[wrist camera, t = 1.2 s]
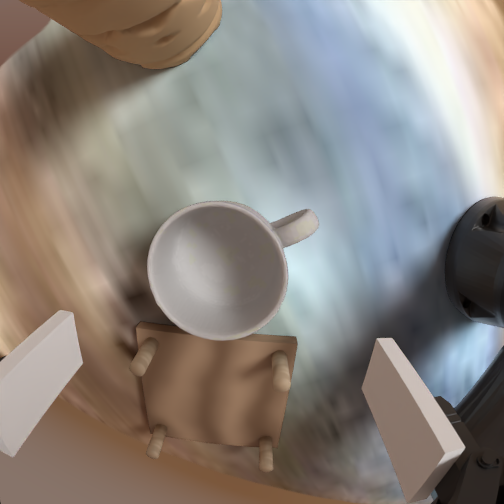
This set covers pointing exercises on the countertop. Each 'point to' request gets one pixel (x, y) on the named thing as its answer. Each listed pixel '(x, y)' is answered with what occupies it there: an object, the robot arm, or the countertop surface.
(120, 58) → the container
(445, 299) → the countertop surface
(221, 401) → the rack
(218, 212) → the teacup
